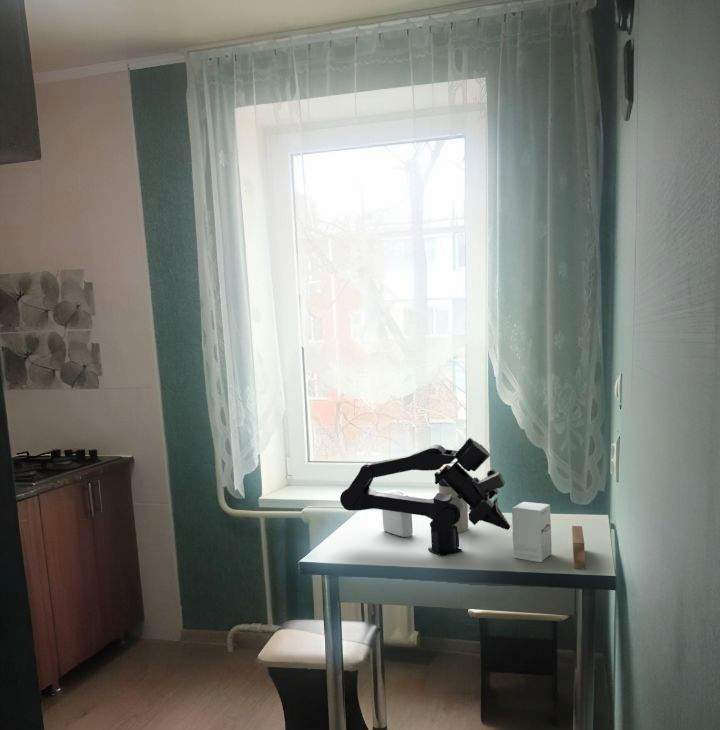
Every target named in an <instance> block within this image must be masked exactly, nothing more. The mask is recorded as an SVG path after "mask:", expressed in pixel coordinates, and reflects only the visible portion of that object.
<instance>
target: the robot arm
mask: <svg viewBox="0 0 720 730" xmlns="http://www.w3.org/2000/svg"><path fill="white" fill-rule="evenodd" d="M490 457H491V454H490V452H489V451H488V450H487V449H486V448H485V447H484V446H483V445H482V444H480V443H478V442H477V441H475V440H474V439H472V437H469V438H467V440H465V442H464V444H463V445H462V446H461V447H460V448H459V449H458V450H453V449H448V448H447V449H446V448H445V447H444V446H442V445H441V444H432V445H430V446H428V447H426V448H425V447H424V448H423V449H420V450H418V451H416V452H414V453H412V454H408V455H403V456H398V457H394V458H390V459H383V460H379V461H376V462H367V463H366V464H364V465H362V466H361V467H360V469H359V472H358V473H357V474H356V476H355V478H354V479H353V481H352V482H351V483H350V485H349V487H347V488H346V489H344V490H343V491H342V492H341V494H340V497H339V499H340V504H341V506H342V507H343V509H344V510H346V511H351V512H354V511H355V512H356V511H365V510H372V509H374V510H375V509H376V510H388V511H395V512H402V513H409V514H412V515H415V516H423V517H427V518H429V520H430V519H431V521H430V523H429V527H430V538H431V539H430V541H431V542H430V543H431V547H428V548H427V549H428V551H429V552H432V553H434V554H437V555H439V556H441V557H446V556H449V555H454V554H457V553H461V552H463V549H462V548H460V535H459V534H460V533H459V532H458V531H457V526H454V524H456V523H457V522H458V521H459V519H460V518H461V516H462V514H463V510H464V508H463V504H462V502H461V501H460V500H459V499H461V498H462V499H463V500H464V501H465V502H466V503H467V506H468V509H469V510H470V511H469V513H468V521H470V522H471V523H472V524H473V525H474V526H475V525H477V524H478V523H479V522H481V521H482V522H484V523H487V524H490V525H493V526H495V527H499V528H502V529H503V530H506V531H508V530H509V529H510V528H511V525H510V523H509V522H508V520H507V519H506V517H505V515H504V514H503V512H502V510H501V509H500V508H499V497H496V498H495V499H494V500H493V497H494V496H495V495H496V496H497V495H498V494H499V490H498V489H502V488H503V487H504V486H505V484H506V482H505V480H504V478H503V474H502V473H501V472H500V470H499V471H496V470H495V469H490V470H488V471H487V474H486V476H485V477H484V478H482V479H479V478H478V477H473V476H472V475H470V473H468V472H470V471H472V472H476V471H477V470H478V469H479V468H480V467H481V466H482V465H483V464H484V463H485V462H486V461H487V460H488V459H489V458H490ZM455 459H456V461H455V462H454V463H453V464H452V462H453V461H454V460H455ZM449 464H451V465H452V466H449ZM442 466H445V467H444V468H443V470H442V471H441V472H440V471H437V470H439V469H440V468H441V467H442ZM461 466H462V467H463V468H464V469H463V468H462V467H461ZM409 471H427V472H428V471H435V473H434V484H435V485H439V482H440V481H441V480H443V481H445V482H446V483H447V484H448V485H449V486H450V487H451V488H452V489H453V490H454V491H456V493H457V494H458V496H457V497H458V498H459V499H458V498H455V497H452V496H453V494H452V495H444V494H441V493H439V492H437V493H436V494H435V495H434V497H433V498H422V497H415V496H409V495H408V496H409V497H408V496H401V495H394V494H386V493H384V492H379V491H376V490H374V489H373V488H372V487H371V488H370V486H371V484H372V482H373V481H374V479H375V478H379V477H385V476H389V475H394V474H399V473H403V472H404V473H405V472H409Z"/></svg>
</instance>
